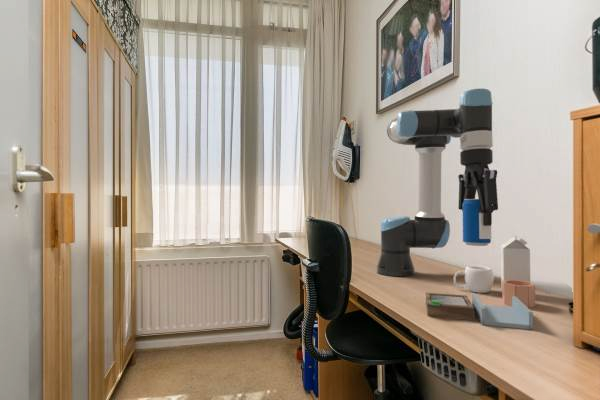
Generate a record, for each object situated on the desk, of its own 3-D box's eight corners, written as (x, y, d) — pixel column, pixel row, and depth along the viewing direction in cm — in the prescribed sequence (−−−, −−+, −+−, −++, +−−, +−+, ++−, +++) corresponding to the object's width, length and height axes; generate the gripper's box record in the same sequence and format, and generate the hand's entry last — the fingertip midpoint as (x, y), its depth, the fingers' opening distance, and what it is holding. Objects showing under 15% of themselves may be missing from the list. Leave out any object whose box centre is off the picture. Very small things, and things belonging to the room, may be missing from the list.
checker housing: (425, 302, 100) (425, 289, 100) (466, 306, 97) (466, 292, 97) (427, 316, 89) (427, 301, 89) (474, 320, 85) (474, 305, 85)
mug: (490, 288, 116) (490, 265, 116) (496, 295, 108) (496, 270, 108) (451, 286, 119) (451, 264, 119) (455, 292, 111) (455, 268, 111)
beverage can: (474, 246, 85) (473, 198, 86) (457, 243, 92) (457, 199, 92) (496, 245, 87) (496, 198, 87) (478, 243, 93) (478, 199, 93)
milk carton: (503, 295, 107) (503, 235, 107) (501, 290, 113) (500, 233, 114) (530, 298, 104) (529, 236, 104) (526, 292, 110) (526, 234, 111)
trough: (472, 307, 95) (472, 293, 96) (515, 311, 92) (515, 296, 92) (481, 324, 82) (481, 308, 82) (532, 329, 79) (532, 312, 79)
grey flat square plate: (430, 298, 98) (430, 294, 98) (462, 300, 96) (462, 297, 96) (432, 306, 90) (432, 303, 90) (467, 309, 88) (467, 305, 88)
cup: (500, 298, 104) (500, 279, 104) (529, 301, 101) (529, 280, 101) (506, 306, 96) (506, 285, 97) (538, 308, 94) (537, 286, 94)
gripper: (444, 154, 99) (445, 234, 99) (484, 142, 80) (485, 241, 79) (469, 155, 99) (470, 234, 99) (515, 143, 80) (516, 241, 80)
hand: (477, 237), depth 89 cm, fingers closed on beverage can, 6 cm apart
